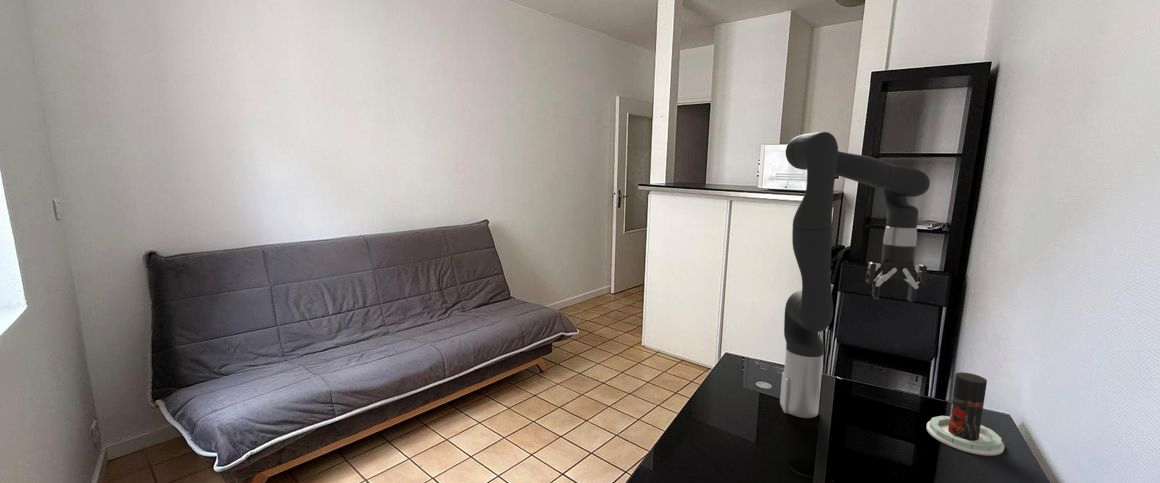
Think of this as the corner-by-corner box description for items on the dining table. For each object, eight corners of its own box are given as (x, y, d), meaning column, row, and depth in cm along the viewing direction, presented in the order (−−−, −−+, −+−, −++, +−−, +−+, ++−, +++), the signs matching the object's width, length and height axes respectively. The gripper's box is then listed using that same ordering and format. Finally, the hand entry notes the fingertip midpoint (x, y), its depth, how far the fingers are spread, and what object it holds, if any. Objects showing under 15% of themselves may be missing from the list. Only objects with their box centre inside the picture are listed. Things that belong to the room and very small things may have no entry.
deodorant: (984, 442, 113) (993, 383, 110) (956, 439, 114) (964, 381, 112) (969, 429, 118) (977, 373, 116) (943, 426, 119) (950, 371, 117)
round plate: (945, 450, 110) (946, 442, 110) (915, 418, 125) (916, 411, 124) (1019, 459, 107) (1021, 451, 107) (980, 425, 122) (981, 418, 121)
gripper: (876, 244, 126) (870, 301, 129) (935, 246, 123) (928, 305, 125) (865, 240, 134) (860, 295, 136) (921, 242, 130) (915, 298, 133)
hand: (893, 299), depth 131 cm, fingers open, 8 cm apart
